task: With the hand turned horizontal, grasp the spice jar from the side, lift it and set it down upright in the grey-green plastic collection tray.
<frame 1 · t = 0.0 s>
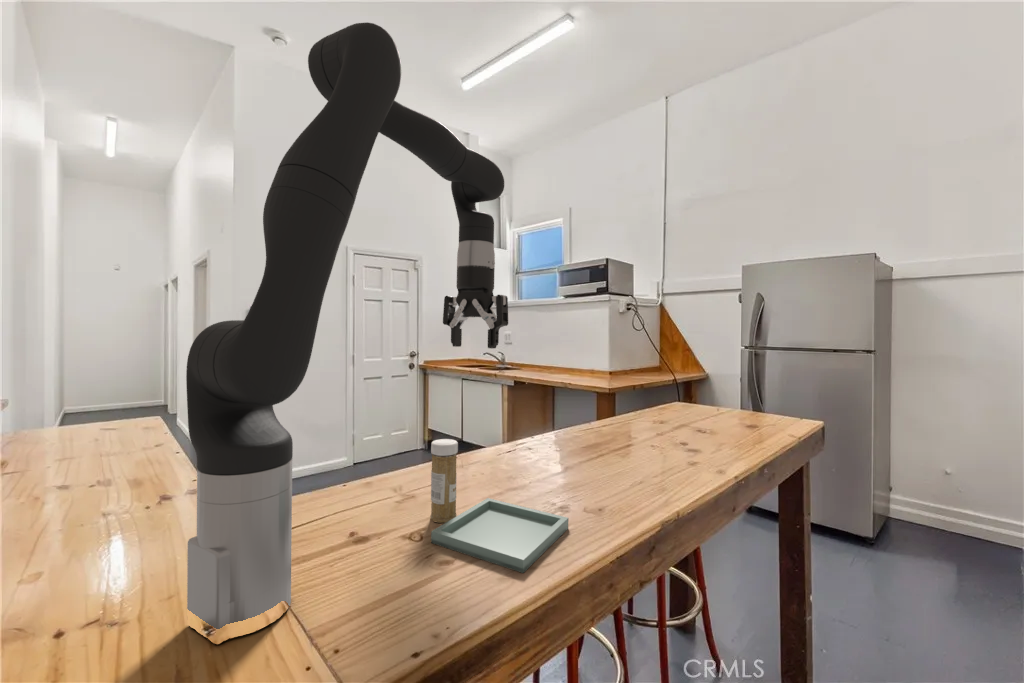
hand: (474, 347, 89), 29 cm above the table, tool pointing down, fingers open, 8 cm apart
tray: (502, 535, 71), on the table
spice jar: (443, 519, 77), on the table
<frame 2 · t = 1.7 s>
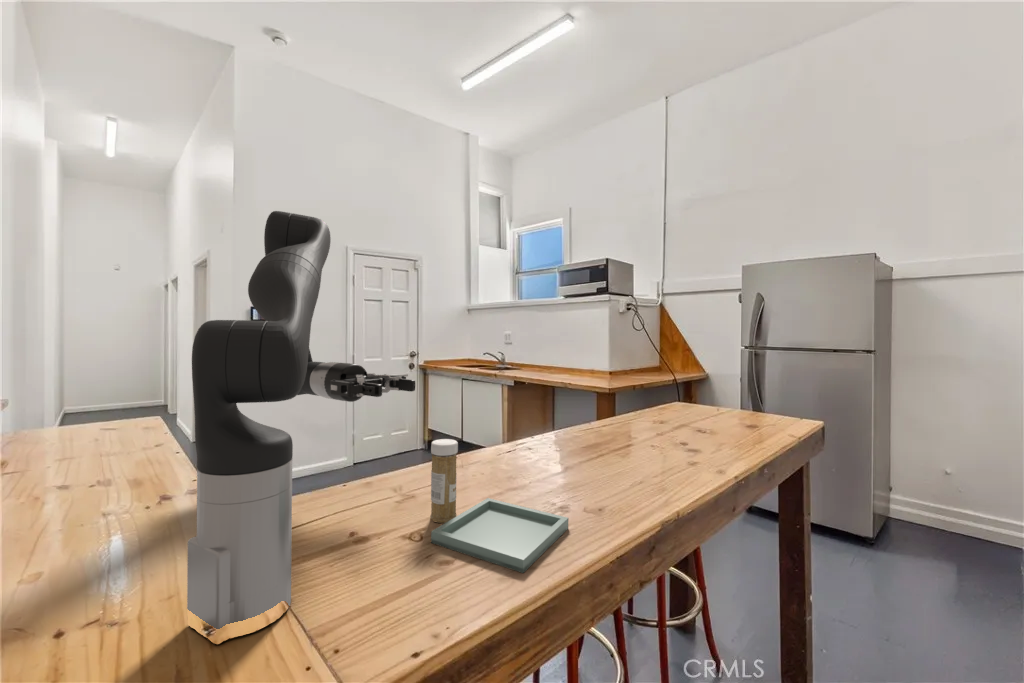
hand: (398, 388, 82), 22 cm above the table, tool horizontal, fingers open, 8 cm apart
nothing on the table moved.
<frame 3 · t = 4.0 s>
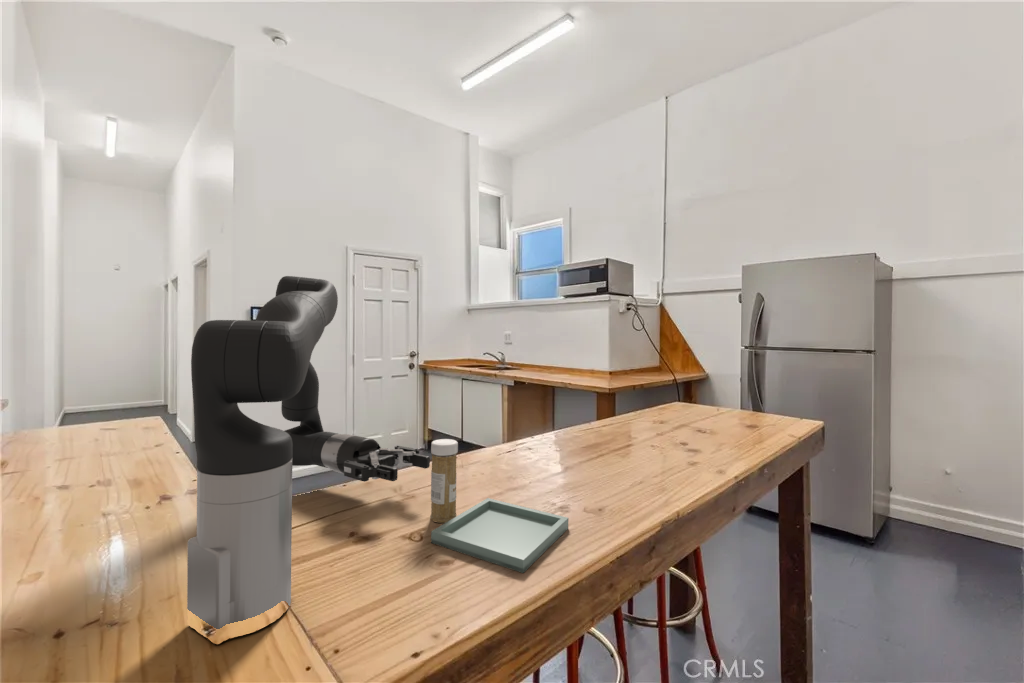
hand: (413, 468, 80), 7 cm above the table, tool horizontal, fingers open, 8 cm apart
nothing on the table moved.
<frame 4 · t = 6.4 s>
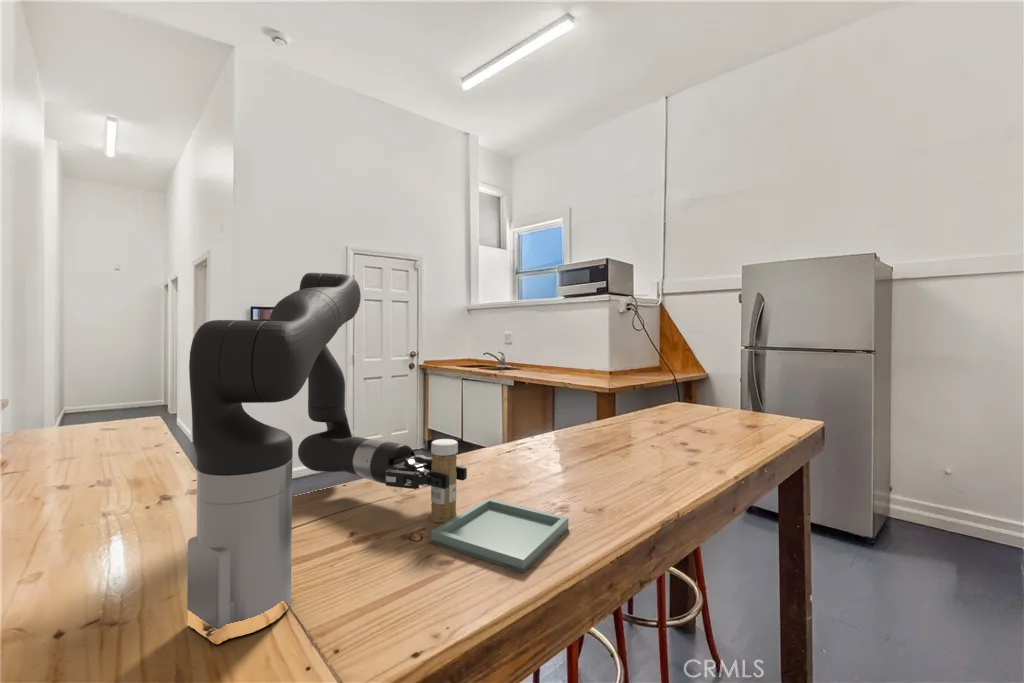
hand: (456, 478, 75), 8 cm above the table, tool horizontal, fingers closed on spice jar, 4 cm apart
spice jar: (443, 519, 77), on the table, touching gripper
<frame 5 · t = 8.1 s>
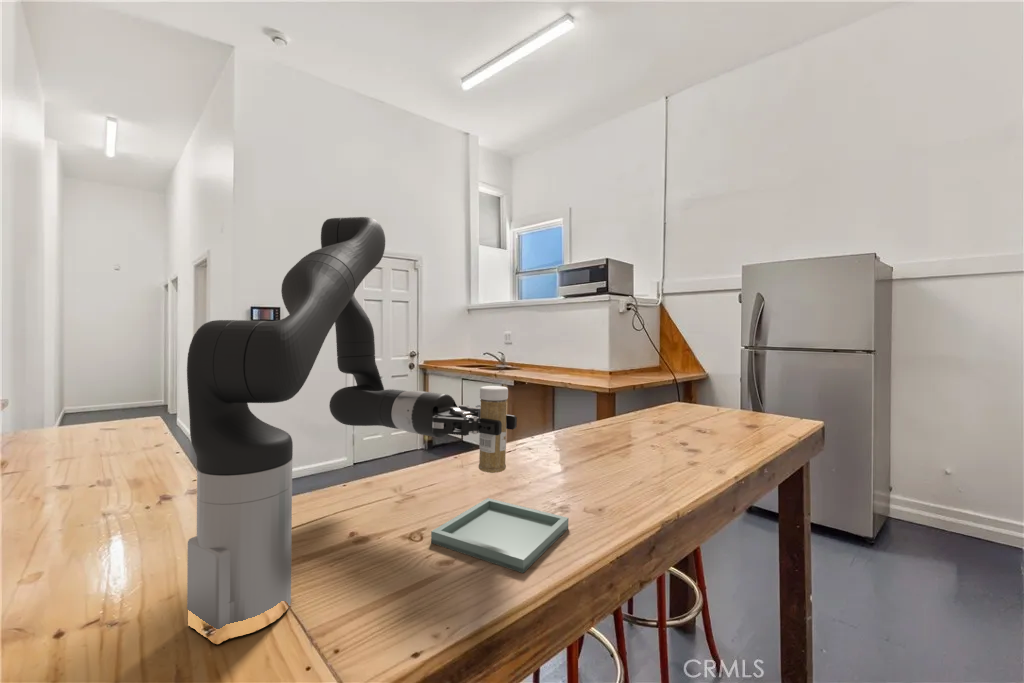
hand: (507, 425, 70), 18 cm above the table, tool horizontal, fingers closed on spice jar, 4 cm apart
spice jar: (491, 470, 72), point 10 cm above the table, touching gripper
when the fingers open (9 cm above the table, at t = 10.3 s): spice jar drops 1 cm, resting on tray.
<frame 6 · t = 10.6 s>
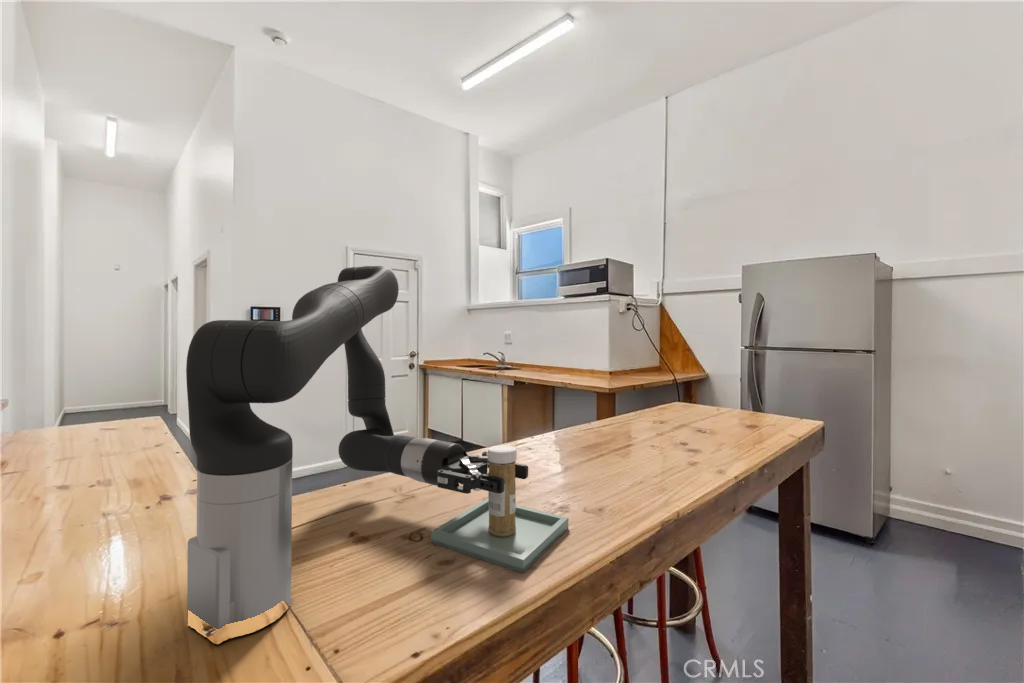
hand: (515, 479, 69), 10 cm above the table, tool horizontal, fingers open, 7 cm apart
spice jar: (501, 532, 71), resting on tray
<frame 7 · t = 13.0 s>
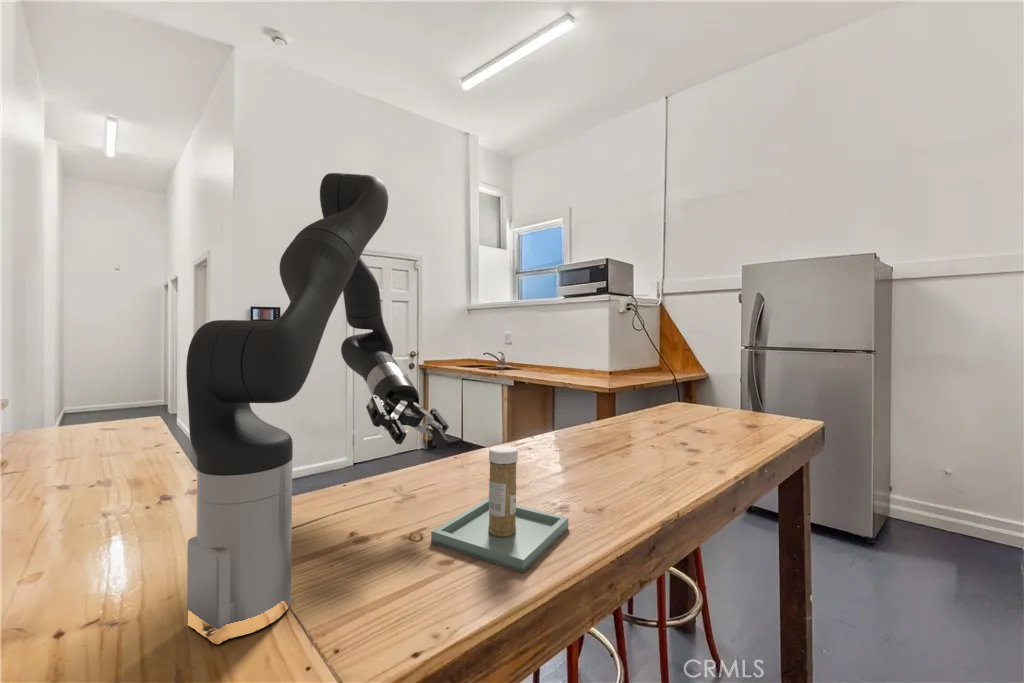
hand: (424, 443, 72), 14 cm above the table, tool tilted 65°, fingers open, 8 cm apart
nothing on the table moved.
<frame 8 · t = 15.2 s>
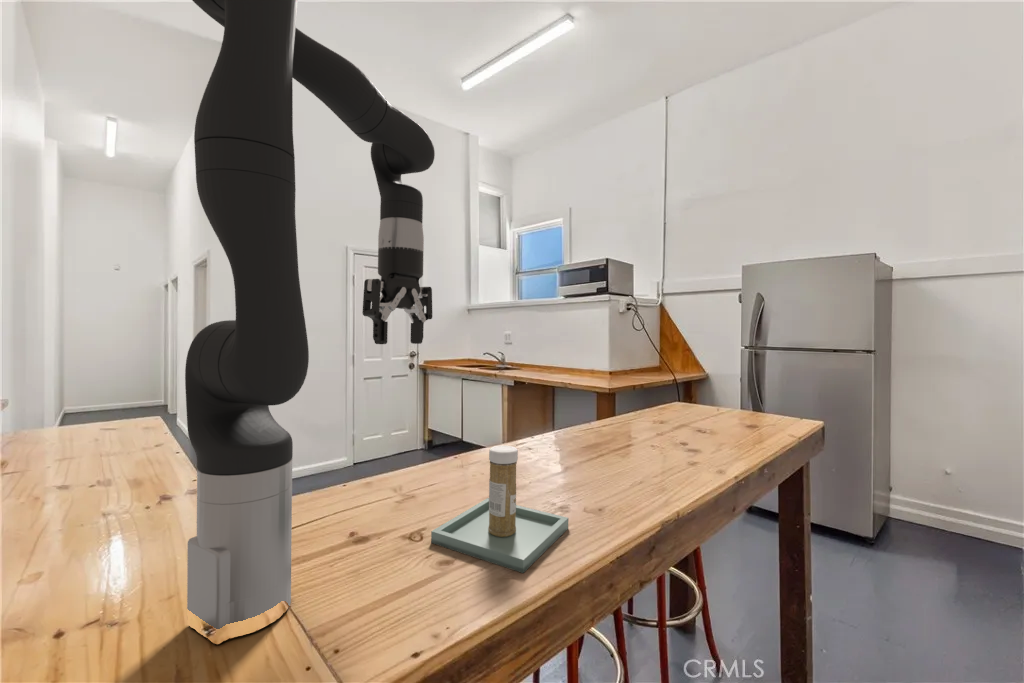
hand: (399, 343, 76), 30 cm above the table, tool pointing down, fingers open, 8 cm apart
nothing on the table moved.
at the end: spice jar inside the target area on the tray (0.1 cm from its centre), point 0.4 cm above the tray's base; spice jar tilted 0°; the gripper is holding nothing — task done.
